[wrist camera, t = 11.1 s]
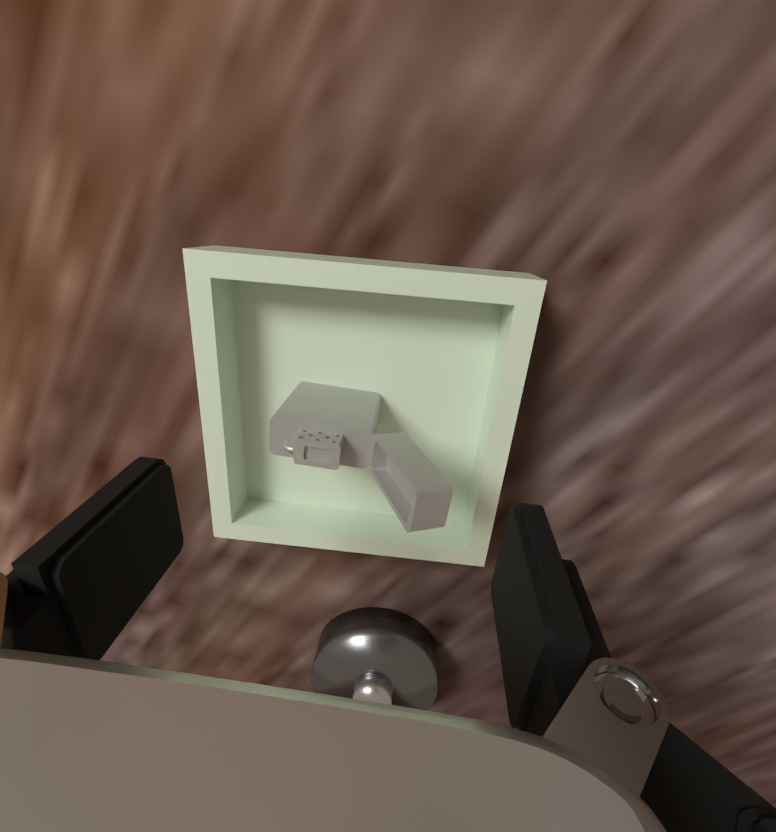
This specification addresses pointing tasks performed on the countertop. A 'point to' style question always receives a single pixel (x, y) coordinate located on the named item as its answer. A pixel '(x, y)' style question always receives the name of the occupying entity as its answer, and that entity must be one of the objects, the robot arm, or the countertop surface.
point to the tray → (363, 370)
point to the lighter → (360, 449)
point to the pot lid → (377, 659)
